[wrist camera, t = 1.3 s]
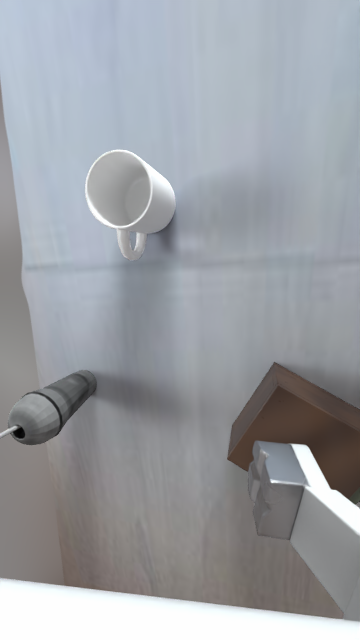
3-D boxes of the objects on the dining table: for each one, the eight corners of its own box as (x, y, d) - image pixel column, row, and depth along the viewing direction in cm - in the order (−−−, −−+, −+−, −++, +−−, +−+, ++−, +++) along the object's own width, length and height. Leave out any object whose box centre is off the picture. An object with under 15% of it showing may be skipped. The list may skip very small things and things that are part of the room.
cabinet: (368, 414, 41) (393, 451, 34) (316, 476, 45) (328, 521, 38) (274, 362, 43) (277, 385, 35) (232, 425, 47) (226, 459, 39)
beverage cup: (79, 406, 54) (-18, 489, 35) (60, 370, 53) (-50, 436, 34) (110, 393, 51) (25, 475, 33) (91, 356, 51) (-8, 417, 32)
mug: (172, 262, 44) (147, 265, 34) (120, 256, 46) (83, 257, 36) (179, 174, 41) (155, 150, 31) (124, 172, 43) (85, 148, 33)
